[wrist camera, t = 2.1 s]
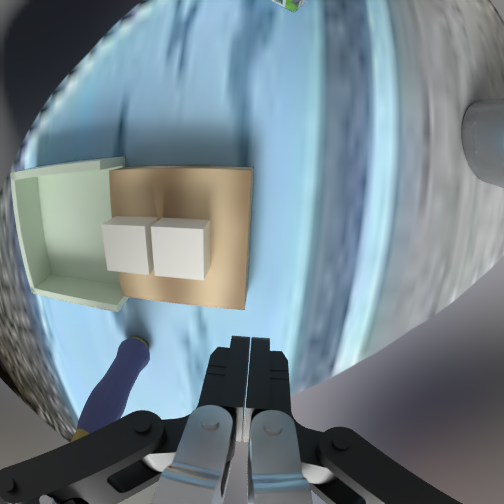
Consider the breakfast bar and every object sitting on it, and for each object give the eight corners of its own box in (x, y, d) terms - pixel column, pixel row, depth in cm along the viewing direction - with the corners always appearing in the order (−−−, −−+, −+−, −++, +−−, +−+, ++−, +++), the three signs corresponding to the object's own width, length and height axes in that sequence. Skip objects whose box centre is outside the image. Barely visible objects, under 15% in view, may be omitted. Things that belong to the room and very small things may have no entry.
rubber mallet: (152, 302, 28) (16, 563, 1) (194, 350, 30) (120, 601, 3) (93, 337, 31) (-15, 513, 4) (130, 375, 34) (51, 553, 6)
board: (253, 167, 23) (251, 170, 20) (246, 293, 27) (244, 309, 24) (125, 166, 23) (108, 170, 20) (134, 281, 28) (122, 295, 25)
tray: (125, 156, 23) (100, 160, 19) (135, 290, 28) (118, 312, 24) (36, 166, 23) (10, 173, 19) (52, 277, 28) (32, 293, 24)
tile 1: (210, 219, 21) (203, 229, 19) (210, 266, 23) (204, 280, 21) (162, 217, 22) (150, 226, 19) (165, 262, 23) (154, 275, 21)
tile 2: (157, 217, 22) (144, 226, 19) (159, 262, 23) (149, 275, 21) (116, 216, 22) (101, 224, 19) (120, 258, 23) (107, 270, 21)
